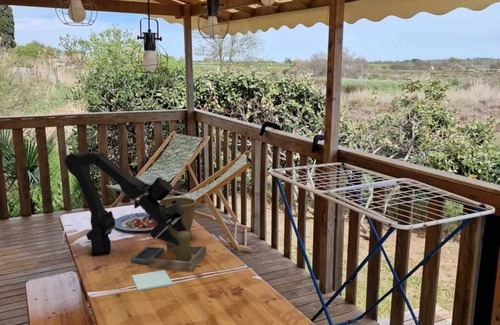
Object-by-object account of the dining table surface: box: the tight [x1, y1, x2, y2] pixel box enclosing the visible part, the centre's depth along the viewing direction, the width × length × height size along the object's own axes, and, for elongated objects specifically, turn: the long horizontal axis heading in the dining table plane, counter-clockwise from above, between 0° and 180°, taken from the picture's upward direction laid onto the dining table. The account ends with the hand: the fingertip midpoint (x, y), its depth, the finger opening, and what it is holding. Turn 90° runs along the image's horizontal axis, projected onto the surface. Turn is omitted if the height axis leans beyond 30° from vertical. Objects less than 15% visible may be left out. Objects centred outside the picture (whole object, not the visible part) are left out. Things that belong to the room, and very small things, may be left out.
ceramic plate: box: [114, 211, 157, 232], centre depth 201 cm, size 26×26×3 cm
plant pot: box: [158, 196, 197, 238], centre depth 182 cm, size 15×15×16 cm
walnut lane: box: [148, 242, 207, 273], centre depth 162 cm, size 15×16×3 cm
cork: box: [175, 231, 193, 262], centre depth 160 cm, size 6×6×11 cm
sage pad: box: [131, 269, 173, 292], centre depth 145 cm, size 11×11×1 cm
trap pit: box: [130, 245, 165, 266], centre depth 164 cm, size 7×13×2 cm, turn 167°
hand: (183, 240), depth 160 cm, fingers open, 9 cm apart
